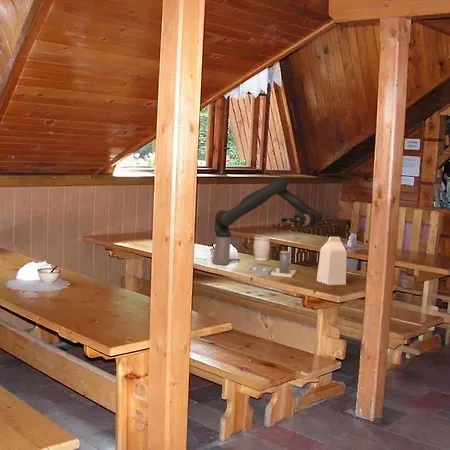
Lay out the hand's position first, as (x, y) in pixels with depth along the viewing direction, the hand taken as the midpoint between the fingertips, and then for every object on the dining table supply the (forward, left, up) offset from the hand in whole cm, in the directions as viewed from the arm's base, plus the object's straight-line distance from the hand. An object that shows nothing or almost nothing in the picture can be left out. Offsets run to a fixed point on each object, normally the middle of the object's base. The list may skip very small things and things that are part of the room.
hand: (288, 221), depth 401 cm
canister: (+2, -13, -29) cm, 32 cm away
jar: (-21, +29, -30) cm, 47 cm away
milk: (+31, -20, -30) cm, 48 cm away
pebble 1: (-14, -19, -29) cm, 38 cm away
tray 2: (+2, -14, -30) cm, 33 cm away
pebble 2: (-8, -19, -29) cm, 36 cm away
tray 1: (-11, -14, -30) cm, 35 cm away
